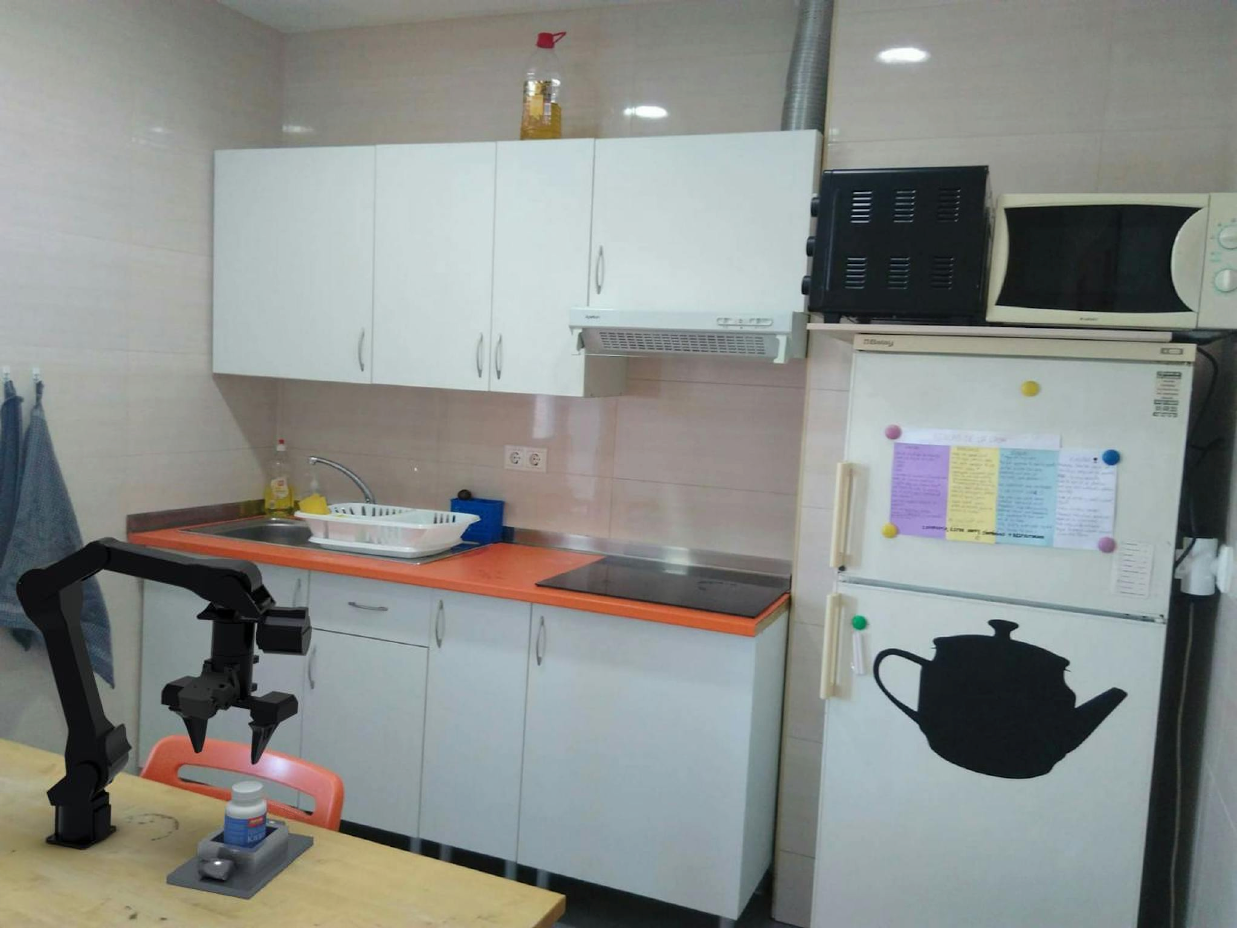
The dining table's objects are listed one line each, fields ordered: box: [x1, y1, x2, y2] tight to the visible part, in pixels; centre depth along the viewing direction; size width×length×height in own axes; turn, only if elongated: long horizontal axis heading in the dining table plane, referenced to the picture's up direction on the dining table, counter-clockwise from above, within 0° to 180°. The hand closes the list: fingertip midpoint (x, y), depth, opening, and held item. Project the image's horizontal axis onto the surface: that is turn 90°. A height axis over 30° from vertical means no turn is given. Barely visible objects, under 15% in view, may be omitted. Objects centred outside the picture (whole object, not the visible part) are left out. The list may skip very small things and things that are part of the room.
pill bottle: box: [223, 780, 268, 849], centre depth 132 cm, size 6×5×10 cm
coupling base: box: [165, 817, 315, 900], centre depth 133 cm, size 12×16×4 cm
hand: (226, 758), depth 138 cm, fingers open, 9 cm apart
